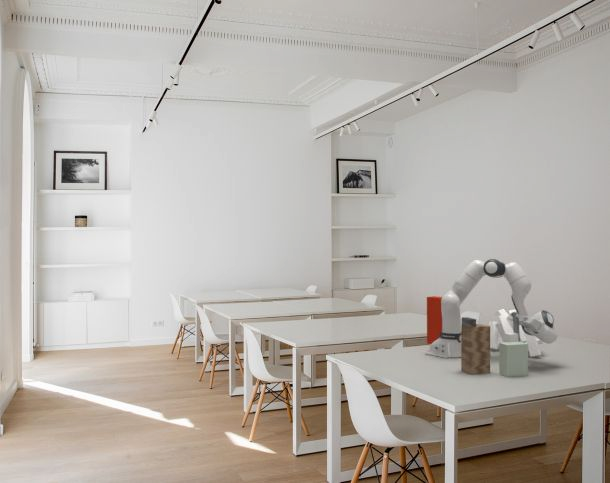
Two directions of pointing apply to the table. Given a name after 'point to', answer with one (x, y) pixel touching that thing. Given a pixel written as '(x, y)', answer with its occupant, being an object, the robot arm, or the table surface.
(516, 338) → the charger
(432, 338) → the file binder
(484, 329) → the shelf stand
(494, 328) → the pile of blocks
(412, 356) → the table surface
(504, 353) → the block
